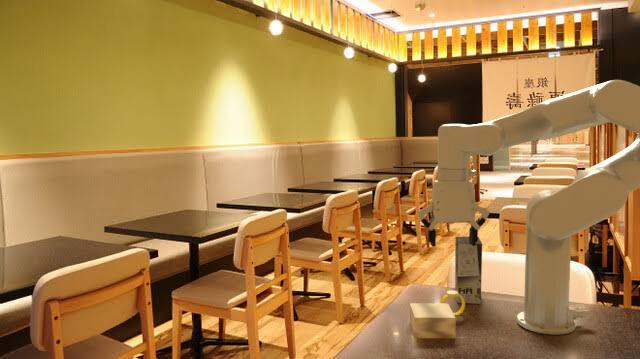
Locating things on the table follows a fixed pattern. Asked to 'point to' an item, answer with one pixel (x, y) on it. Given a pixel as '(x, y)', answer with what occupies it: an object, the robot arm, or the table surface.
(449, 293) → the watch
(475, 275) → the coffee box
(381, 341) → the table surface
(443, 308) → the wood block
